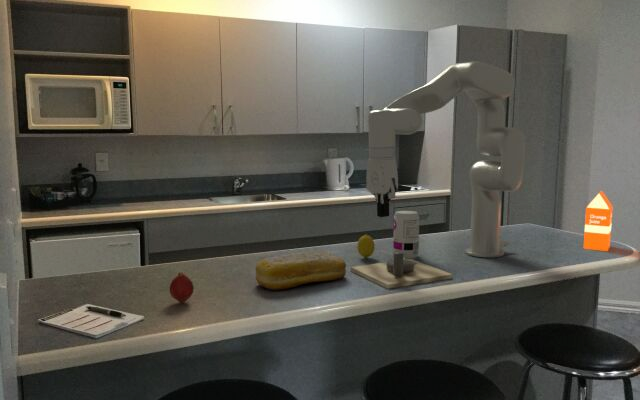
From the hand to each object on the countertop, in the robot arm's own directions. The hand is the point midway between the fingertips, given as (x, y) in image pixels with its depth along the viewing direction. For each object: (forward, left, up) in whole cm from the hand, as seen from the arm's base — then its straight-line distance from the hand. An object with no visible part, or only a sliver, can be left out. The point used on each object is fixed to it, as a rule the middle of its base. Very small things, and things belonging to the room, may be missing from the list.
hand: (383, 216), depth 162 cm
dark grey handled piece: (-5, +3, -16) cm, 16 cm away
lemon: (-5, -17, -17) cm, 25 cm away
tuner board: (-4, +4, -17) cm, 18 cm away
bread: (+25, -4, -18) cm, 31 cm away
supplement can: (-18, -13, -17) cm, 28 cm away
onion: (+59, 0, -17) cm, 62 cm away
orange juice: (-86, +7, -17) cm, 88 cm away
